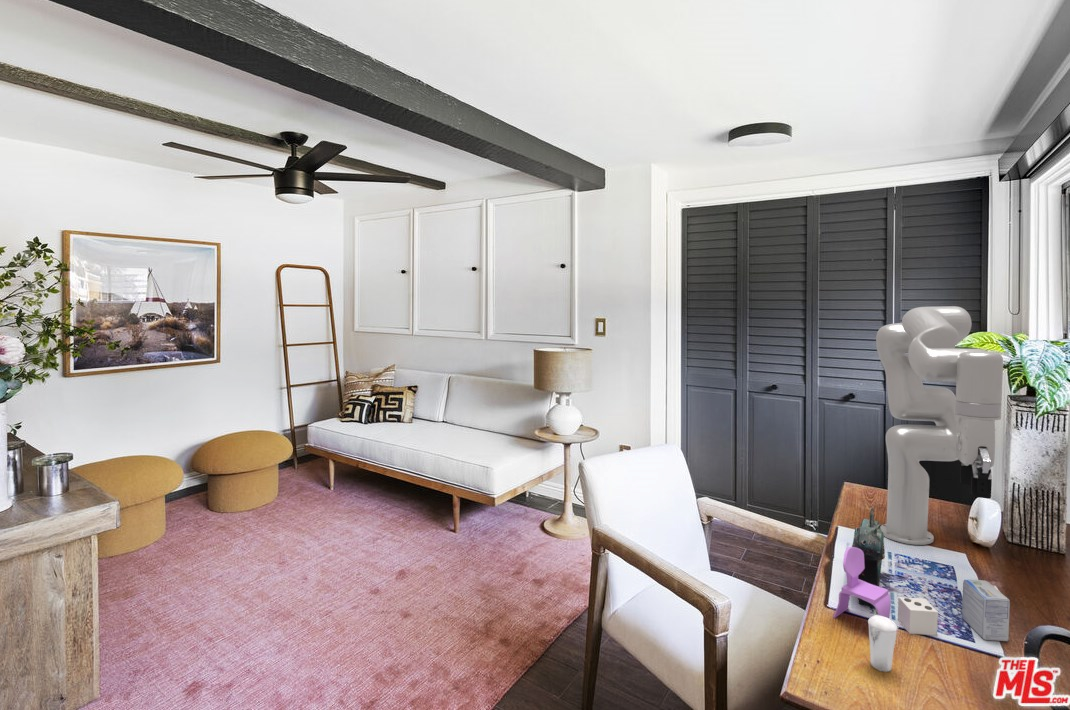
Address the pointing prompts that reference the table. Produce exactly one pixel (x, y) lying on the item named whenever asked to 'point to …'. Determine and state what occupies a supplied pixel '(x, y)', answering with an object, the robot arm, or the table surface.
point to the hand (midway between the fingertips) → (974, 490)
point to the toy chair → (861, 586)
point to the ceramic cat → (870, 551)
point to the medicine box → (986, 610)
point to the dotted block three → (917, 616)
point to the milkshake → (882, 642)
